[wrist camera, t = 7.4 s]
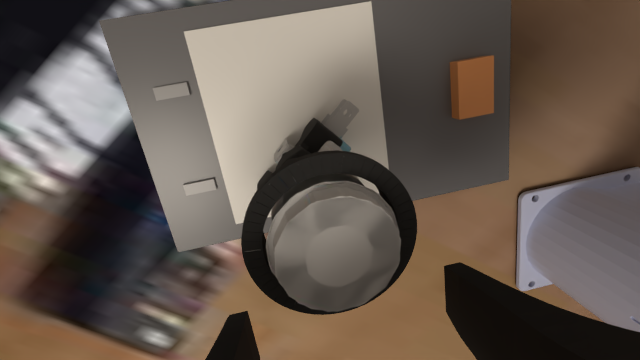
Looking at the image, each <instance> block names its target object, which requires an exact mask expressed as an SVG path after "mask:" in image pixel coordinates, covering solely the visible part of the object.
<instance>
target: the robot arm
mask: <svg viewBox="0 0 640 360" xmlns="http://www.w3.org/2000/svg"><path fill="white" fill-rule="evenodd" d="M534 195H535V196H534ZM533 196H534V198H533V199H532V197H533ZM444 273H445V296H446V312H447V314H448V316H449V318H450V320H451V321H452V323H453V325H454V327H455V328H456V330H457V332H458V334H459V335H460V337H461V338H462V340H463V341H464V342H465V344H466V345H467V347H468V348H469V349H470V351H471V352H472V353H473V355H474V356H475V357H476V359H477V360H640V167H633V168H629V169H624V170H620V171H615V172H611V173H606V174H602V175H597V176H593V177H588V178H584V179H580V180H575V181H571V182H566V183H562V184H557V185H553V186H548V187H544V188H539V189H535V190H530V191H526V192H523V193H522V194H521V195H520V196H519V199H518V231H517V271H516V286H517V288H518V289H520V290H521V291H527V290H531V289H534V288H538V287H542V286H546V285H550V284H554V285H556V286H557V287H558V288H560V289H561V290H562V291H564V292H565V293H566V294H568V295H569V296H570V297H572V298H573V299H574V300H576V301H577V302H578V303H580V304H581V305H582V306H584V307H585V308H586V309H588V310H589V311H590V312H592V313H593V314H594V315H596V316H597V317H598V318H600V319H601V320H602V321H604V322H605V323H604V322H600V321H597V320H594V319H590V318H587V317H584V316H581V315H578V314H575V313H573V312H570V311H567V310H564V309H561V308H559V307H556V306H553V305H551V304H548V303H546V302H544V301H541V300H539V299H536V298H534V297H532V296H529V295H527V294H525V293H523V292H520V291H518V290H516V289H514V288H512V287H510V286H508V285H506V284H503V283H501V282H499V281H497V280H495V279H493V278H491V277H489V276H487V275H485V274H483V273H481V272H479V271H477V270H475V269H473V268H471V267H469V266H467V265H465V264H463V263H460V262H459V263H455V264H451V265H446V266H444ZM205 360H260V355H259V352H258V348H257V344H256V341H255V337H254V333H253V330H252V326H251V322H250V319H249V315H248V311H245V312H241V313H236V314H232V315H229V317H228V318H227V320H226V322H225V324H224V326H223V328H222V330H221V332H220V334H219V336H218V338H217V340H216V341H215V343H214V345H213V347H212V349H211V351H210V352H209V354H208V356H207V358H206V359H205Z"/></svg>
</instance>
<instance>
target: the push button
mask: <svg viewBox="0 0 640 360" xmlns="http://www.w3.org/2000/svg"><path fill="white" fill-rule="evenodd" d="M346 109H347V113H346V114H345V115H344V111H345V110H346ZM358 112H359V109H358V108H357V107H356V106H355V105H353V104H352V103H351V102H350V101H347V100H345V99H343V100H342V101H341V102H340V104H339V105H338V106H337V107H336V109H335V110H334V111H333V112H332V114H331V115H329V114H327V115H326V117H325V118H324V119H323V120H322V122H320V121H318V120H316V119H315V118H313V119H311V120H310V122H309V123H308V124H307V125H306V127H305V128H304V130H303V133H302V135H301V138H300V140H299V141H298V143H297V144H296V145H295V146H294V148H293V147H292V146H290V145H289V143H288V140H287V139H285V140H284V141H283V143H282V144H281V145H280V147H279V148H278V149H277V150H276V152H275V153H274V160H275V162H276V163H277V166H276V169H275V171H274V172H273V173H272V172H270V171H269V170H268V171H266V172H265V174H264V175H263V176H262V177H261V179H260V180H259V182H258V184H257V191H256V193H255V194H254V196H253V197H252V199H251V201H250V203H249V205H248V208H247V211H246V213H245V217H244V221H243V228H242V241H241V245H242V254H243V258H244V262H245V265H246V267H247V270H248V272H249V274H250V276H251V278H252V279H253V281H254V282H255V283H256V285H257V286H258V287H259V288H260V289H261V291H263V292H264V293H265V294H266V295H267V296H268V297H269V298H271V299H272V300H274V301H275V302H277V303H279V304H280V305H282V306H284V307H287V308H289V309H292V310H295V311H298V312H303V313H308V314H322V315H324V314H335V313H341V312H345V311H349V310H352V309H355V308H358V307H360V306H362V305H365V304H367V303H368V302H370V301H372V300H374V299H375V298H377V297H378V296H380V295H381V294H382V293H384V292H385V291H386V290H387V289H388V288H389V287H390V286H391V285H392V284H393V283H394V282H395V281H396V280H397V279H398V278H399V276H400V275H401V273H402V272H403V271H404V269H405V267H406V266H407V264H408V262H409V260H410V257H411V255H412V252H413V249H414V246H415V241H416V234H417V219H416V213H415V208H414V205H413V202H412V199H411V197H410V195H409V193H408V191H407V190H406V188H405V187H404V185H403V184H402V183H401V181H400V180H399V179H398V178H397V177H396V176H395V175H394V174H393V173H392V172H391V171H389V170H388V169H387V168H386V167H384V166H383V165H382V164H380V163H378V162H377V161H375V160H373V159H371V158H369V157H366V156H364V155H361V154H357V153H353V152H350V150H351V147H350V146H349V145H347V144H346V143H345V142H344V141H343V140H342V139H341V138H342V137H343V136H344V134H345V133H346V132H347V131H348V129H347V128H346V127H347V126H348V125H349V123H350V122H351V121H352V120H353V118H354V117H355V116H356V115H357V113H358ZM350 114H351V116H350ZM349 116H350V117H349ZM357 177H360V178H363V179H365V180H367V181H369V182H371V183H373V184H374V185H375V186H376V187H377V189H378V191H379V194H380V195H379V194H378V193H377V192H375V191H374V190H372V189H370V188H367V187H365V186H364V185H363V184H362V182H361V181H360V180H359V179H358V178H357ZM271 209H272V210H271ZM270 211H271V218H272V223H271V227H270V230H269V233H268V237H267V240H266V239H265V236H264V232H263V229H264V225H265V222H266V219H267V217H268V215H269V213H270Z"/></svg>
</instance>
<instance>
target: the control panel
mask: <svg viewBox="0 0 640 360" xmlns="http://www.w3.org/2000/svg"><path fill="white" fill-rule="evenodd" d="M99 22H100V25H101V28H102V31H103V34H104V36H105V39H106V42H107V45H108V48H109V51H110V54H111V57H112V60H113V63H114V66H115V69H116V72H117V75H118V77H119V80H120V83H121V86H122V89H123V92H124V95H125V98H126V101H127V104H128V107H129V110H130V113H131V116H132V118H133V121H134V124H135V127H136V130H137V133H138V136H139V139H140V142H141V145H142V148H143V151H144V154H145V157H146V159H147V162H148V165H149V168H150V171H151V174H152V177H153V180H154V183H155V186H156V189H157V192H158V195H159V198H160V200H161V203H162V206H163V209H164V212H165V215H166V218H167V221H168V224H169V227H170V230H171V233H172V236H173V239H174V241H175V244H176V247H177V250H178V252H181V251H185V250H190V249H195V248H199V247H204V246H208V245H213V244H217V243H222V242H227V241H231V240H236V239H240V238H242V228H243V221H244V217H245V213H246V211H247V208H248V205H249V203H250V201H251V199H252V197H253V196H254V194H255V193H256V191H257V184H258V182H259V180H260V179H261V177H262V176H263V175H264V174H265V172H266V171H268V170H269V171H270V172H272V173H273V172H274V171H275V169H276V166H277V163H276V162H275V160H274V153H275V152H276V150H277V149H278V148H279V147H280V145H281V144H282V143H283V141H284V140H285V139H287V140H288V143H289V145H290V146H292V147H293V148H294V146H295V145H296V144H297V143H298V141H299V140H300V138H301V135H302V133H303V130H304V128H305V127H306V125H307V124H308V123H309V122H310V120H311V119H313V118H315V119H316V120H318V121H320V122H322V120H323V119H324V118H325V117H326V115H327V114H329V115H331V114H332V112H333V111H334V110H335V109H336V107H337V106H338V105H339V104H340V102H341V101H342V100H343V99H345V100H347V101H350V102H351V103H352V104H353V105H355V106H356V107H357V108H358V109H359V112H358V113H357V115H356V116H355V117H354V118H353V120H352V121H351V122H350V123H349V125H348V126H347V127H346V128H347V129H348V131H347V132H346V133H345V134H344V136H343V137H342V138H341V139H342V140H343V141H344V142H345V143H346V144H347V145H349V146H350V147H351V150H350V152H353V153H357V154H361V155H364V156H366V157H369V158H371V159H373V160H375V161H377V162H378V163H380V164H382V165H383V166H384V167H386V168H387V169H388V170H389V171H391V172H392V173H393V174H394V175H395V176H396V177H397V178H398V179H399V180H400V181H401V183H402V184H403V185H404V187H405V188H406V190H407V191H408V193H409V195H410V197H411V199H412V201H414V200H418V199H423V198H427V197H432V196H436V195H441V194H445V193H450V192H455V191H459V190H464V189H468V188H473V187H477V186H482V185H487V184H491V183H496V182H500V181H505V180H509V116H510V48H511V0H230V1H223V2H217V3H211V4H204V5H198V6H191V7H185V8H179V9H172V10H166V11H159V12H153V13H146V14H140V15H134V16H127V17H121V18H114V19H108V20H101V21H99ZM346 113H347V109H346V110H345V111H344V115H345V114H346ZM350 116H351V114H350ZM350 116H349V117H350ZM357 178H358V179H359V180H360V181H361V182H362V184H363V185H364V186H365V187H367V188H370V189H372V190H374V191H375V192H377V193H378V194H379V191H378V189H377V187H376V186H375V185H374V184H373V183H371V182H369V181H367V180H365V179H363V178H360V177H357ZM379 195H380V194H379ZM271 210H272V209H271ZM271 223H272V218H271V211H270V213H269V215H268V217H267V219H266V222H265V225H264V229H263V232H264V233H268V232H269V230H270V227H271Z"/></svg>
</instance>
